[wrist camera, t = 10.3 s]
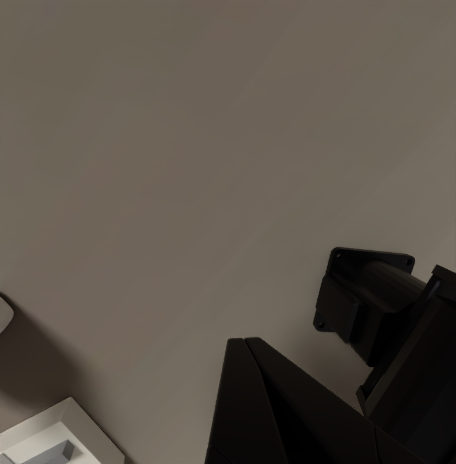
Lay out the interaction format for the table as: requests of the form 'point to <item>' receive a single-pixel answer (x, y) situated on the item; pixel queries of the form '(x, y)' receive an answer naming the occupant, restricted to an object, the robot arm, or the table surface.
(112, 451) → the white base with rails
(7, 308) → the eye dropper bottle
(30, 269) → the table surface
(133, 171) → the table surface
